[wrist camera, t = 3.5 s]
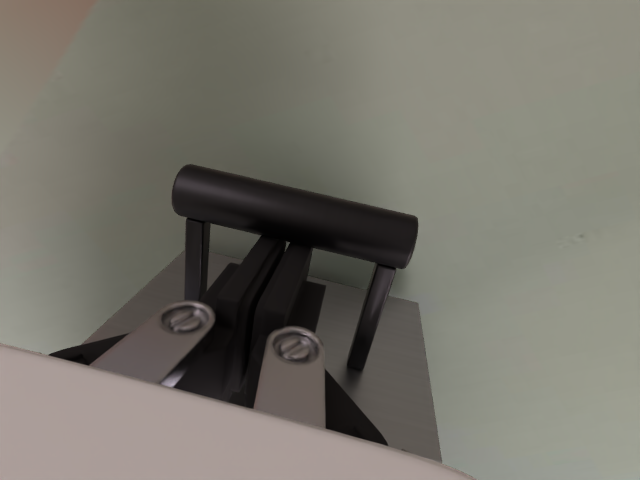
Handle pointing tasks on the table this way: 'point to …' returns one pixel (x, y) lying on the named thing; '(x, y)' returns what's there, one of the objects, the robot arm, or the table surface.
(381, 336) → the pull-out drawer
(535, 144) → the table surface
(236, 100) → the table surface
